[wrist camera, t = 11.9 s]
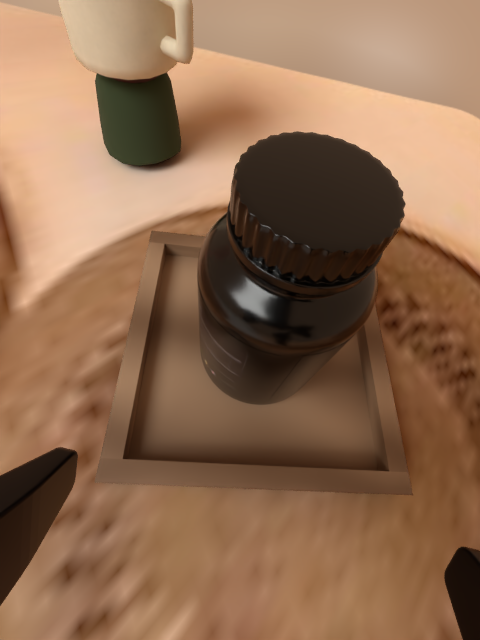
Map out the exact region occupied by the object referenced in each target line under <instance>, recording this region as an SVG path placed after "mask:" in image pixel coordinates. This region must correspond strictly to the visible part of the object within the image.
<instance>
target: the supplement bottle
mask: <svg viewBox="0 0 480 640" xmlns="http://www.w3.org/2000/svg"><path fill="white" fill-rule="evenodd" d="M402 197H403V191H402V190H401V189H400V187H399V185H398V181H397V180H396V179H395V178H394V177H393V176H392V174H391V171H390V170H389V169H388V168H386V167H385V166H384V165H383V164H382V162H381V161H380V160H378V159H376V158H375V157H373V156H372V155H371V154H370V153H369V152H367V151H365V150H362V149H360V148H359V147H358V146H356V145H354V144H351V143H348V142H346V141H344V140H342V139H338V138H333V137H331V136H328V135H320V134H316V133H313V132H310V133H303V132H293V133H281V134H279V135H271V136H269V137H268V138H267V139H263V140H259V141H258V142H257V143H256V144H255V145H252V146H250V147H249V148H248V150H247V152H245V153H244V154H242V155H241V156H240V160H239V162H238V163H237V164H236V166H235V169H234V176H233V180H232V186H231V197H230V202H229V205H228V210H227V212H226V213H225V214H224V215H223V216H222V217H221V218H219V220H218V221H217V222H216V223H215V224H214V225H213V226H212V228H211V229H210V230H209V232H208V233H207V235H206V237H205V239H204V241H203V243H202V246H201V249H200V252H199V257H198V268H197V284H198V311H199V338H200V352H201V358H202V362H203V365H204V368H205V370H206V372H207V374H208V376H209V377H210V379H211V380H212V382H213V383H214V384H215V385H216V386H217V387H218V388H219V389H220V390H221V391H222V392H224V393H225V394H227V395H228V396H230V397H232V398H233V399H235V400H238V401H240V402H244V403H248V404H254V405H267V404H273V403H277V402H280V401H283V400H285V399H287V398H289V397H290V396H292V395H294V394H295V393H296V392H298V391H299V390H300V389H301V388H302V387H303V386H304V385H305V384H306V383H307V382H308V381H309V380H310V379H311V378H312V377H313V376H314V375H315V374H316V373H317V372H318V371H319V370H320V369H321V368H322V367H323V366H324V365H325V364H326V363H327V362H328V361H329V360H330V359H331V358H332V357H333V356H334V355H335V354H336V353H337V352H338V351H339V350H340V349H341V348H342V347H343V346H344V345H345V344H346V343H347V342H348V341H349V340H350V339H351V338H352V337H353V336H354V335H355V334H356V333H357V332H358V331H359V330H360V328H361V327H362V326H363V325H364V323H365V322H366V321H367V319H368V317H369V316H370V314H371V312H372V310H373V307H374V304H375V301H376V296H377V291H378V274H377V268H376V265H377V264H378V262H379V260H380V258H381V256H382V253H383V251H384V249H385V248H386V247H387V246H388V244H389V243H390V242H391V240H392V239H393V238H394V236H395V235H396V234H397V232H398V230H399V228H400V223H401V222H402V220H403V218H404V216H405V215H404V210H403V209H404V207H405V205H406V204H405V202H404V200H403V198H402Z"/></svg>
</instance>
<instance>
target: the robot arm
mask: <svg viewBox="0 0 480 640" xmlns="http://www.w3.org/2000/svg"><path fill="white" fill-rule="evenodd" d="M77 458H78V454H77V452H76V451H75V450H71V449H67V448H63V447H59V448H56V449H54V450H52V451H50V452H47V453H45V454H43V455H41V456H39V457H37V458H35V459H33V460H31V461H29V462H27V463H25V464H23V465H21V466H19V467H17V468H15V469H13V470H11V471H9V472H7V473H5V474H3V475H1V476H0V606H1V604H2V603H3V601H4V600H5V598H6V597H7V596H8V594H9V593H10V591H11V590H12V588H13V587H14V585H15V584H16V582H17V581H18V580H19V578H20V577H21V575H22V574H23V572H24V571H25V569H26V568H27V566H28V565H29V563H30V561H31V560H32V558H33V556H34V555H35V553H36V551H37V549H38V548H39V546H40V544H41V542H42V541H43V539H44V537H45V535H46V534H47V532H48V530H49V528H50V527H51V525H52V523H53V521H54V520H55V518H56V516H57V514H58V513H59V511H60V509H61V507H62V506H63V504H64V502H65V500H66V499H67V497H68V495H69V493H70V492H71V490H72V488H73V485H74V482H75V477H76V467H77ZM444 578H445V584H446V587H447V590H448V594H449V597H450V600H451V603H452V606H453V610H454V613H455V616H456V619H457V622H458V626H459V629H460V632H461V635H462V638H463V640H480V551H479V550H476V549H472V548H468V547H460V548H458V550H457V551H456V553H455V554H454V556H453V558H452V559H451V561H450V563H449V565H448V566H447V568H446V570H445V575H444Z"/></svg>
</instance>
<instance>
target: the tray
mask: <svg viewBox="0 0 480 640" xmlns="http://www.w3.org/2000/svg"><path fill="white" fill-rule="evenodd" d="M204 239H205V237H204V236H195V235H186V234H177V233H168V232H159V231H151V236H150V240H149V245H148V249H147V253H146V258H145V262H144V267H143V271H142V275H141V280H140V284H139V289H138V293H137V297H136V302H135V306H134V311H133V315H132V320H131V324H130V328H129V333H128V337H127V342H126V346H125V350H124V355H123V359H122V364H121V368H120V372H119V377H118V381H117V386H116V390H115V395H114V399H113V403H112V408H111V412H110V417H109V421H108V425H107V430H106V434H105V439H104V443H103V447H102V452H101V456H100V461H99V465H98V469H97V474H96V478H95V483H117V484H143V485H168V486H193V487H219V488H244V489H269V490H295V491H320V492H345V493H371V494H396V495H413V493H412V488H411V483H410V478H409V473H408V468H407V463H406V458H405V453H404V448H403V442H402V437H401V432H400V427H399V422H398V417H397V412H396V407H395V402H394V397H393V392H392V387H391V382H390V377H389V372H388V367H387V361H386V356H385V351H384V346H383V341H382V336H381V331H380V326H379V321H378V316H377V311H376V306H375V304H374V307H373V310H372V312H371V314H370V316H369V317H368V319H367V321H366V322H365V323H364V325H363V326H362V327H361V328H360V330H359V331H358V332H357V333H356V334H355V335H354V336H353V337H352V338H351V339H350V340H349V341H348V342H347V343H346V344H345V345H344V346H343V347H342V348H341V349H340V350H339V351H338V352H337V353H336V354H335V355H334V356H333V357H332V358H331V359H330V360H329V361H328V362H327V363H326V364H325V365H324V366H323V367H322V368H321V369H320V370H319V371H318V372H317V373H316V374H315V375H314V376H313V377H312V378H311V379H310V380H309V381H308V382H307V383H306V384H305V385H304V386H303V387H302V388H301V389H300V390H299V391H298V392H296V393H295V394H294V395H292V396H290V397H289V398H287V399H285V400H283V401H280V402H277V403H273V404H267V405H254V404H248V403H244V402H240V401H238V400H235V399H233V398H232V397H230V396H228V395H227V394H225V393H224V392H222V391H221V390H220V389H219V388H218V387H217V386H216V385H215V384H214V383H213V382H212V380H211V379H210V377H209V376H208V374H207V372H206V370H205V368H204V365H203V362H202V358H201V352H200V338H199V311H198V284H197V268H198V257H199V252H200V249H201V246H202V243H203V241H204Z"/></svg>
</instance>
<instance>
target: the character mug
mask: <svg viewBox="0 0 480 640" xmlns="http://www.w3.org/2000/svg"><path fill="white" fill-rule="evenodd" d="M58 2H59V5H60V9H61V12H62V16H63V19H64V23H65V26H66V30H67V33H68V36H69V40H70V43H71V47H72V50H73V52H74V54H75V57H76V59H77V60H78V61H79V62H80V63H81V64H82V65H83V66H84V67H85V68H86V69H87V70H90V71H92V72H95V73H97V75H96V80H95V84H96V92H97V99H98V107H99V115H100V122H101V128H102V133H103V139H104V144H105V146H106V148H107V150H108V152H109V154H110V155H111V156H112V157H114V158H115V159H117V160H118V161H120V162H122V163H125V164H132V165H138V166H141V165H148V164H155V163H159V162H161V161H164V160H166V159H169V158H171V157H173V156H174V155H176V154H177V153H178V152H180V148H181V137H180V129H179V122H178V116H177V111H176V105H175V100H174V95H173V90H172V84H171V80H170V78H169V76H168V74H167V72H168V71H169V70H170V69H171V68H173V67H174V66H175V65H176V64H177V61H178V62H180V63H184V64H190V61H191V59H192V55H193V6H192V0H58Z"/></svg>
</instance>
